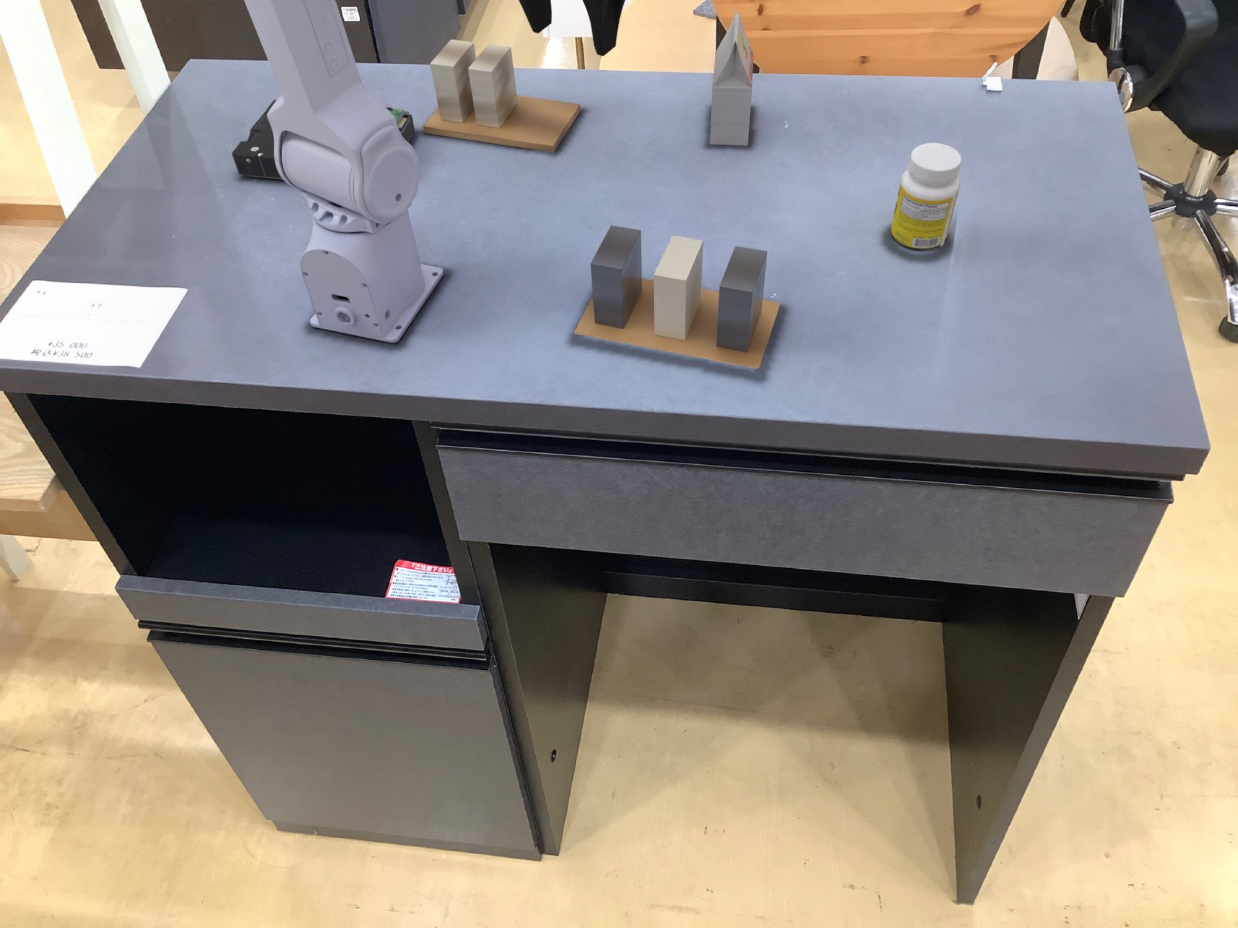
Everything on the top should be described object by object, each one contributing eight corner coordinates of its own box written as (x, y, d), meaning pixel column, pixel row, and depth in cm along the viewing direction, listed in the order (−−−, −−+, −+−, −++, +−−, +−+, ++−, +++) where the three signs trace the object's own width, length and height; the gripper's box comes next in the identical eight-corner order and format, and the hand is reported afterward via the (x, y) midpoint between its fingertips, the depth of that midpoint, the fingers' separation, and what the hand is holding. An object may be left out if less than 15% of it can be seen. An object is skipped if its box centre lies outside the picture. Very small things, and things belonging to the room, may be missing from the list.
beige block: (684, 340, 77) (686, 280, 73) (654, 335, 78) (653, 274, 73) (701, 300, 80) (703, 240, 76) (671, 295, 81) (672, 235, 76)
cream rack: (553, 153, 96) (547, 87, 91) (424, 133, 100) (411, 69, 94) (580, 111, 101) (576, 47, 96) (456, 93, 104) (445, 30, 99)
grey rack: (758, 376, 75) (765, 308, 70) (574, 340, 79) (567, 272, 74) (779, 310, 80) (787, 241, 75) (605, 278, 84) (601, 211, 78)
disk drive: (239, 180, 95) (384, 189, 93) (229, 155, 93) (377, 163, 91) (280, 123, 102) (417, 130, 100) (272, 98, 100) (411, 105, 98)
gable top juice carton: (709, 144, 96) (714, 45, 89) (713, 108, 101) (717, 10, 93) (747, 145, 96) (755, 46, 88) (749, 109, 100) (756, 11, 93)
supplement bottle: (909, 218, 88) (929, 133, 81) (955, 240, 85) (979, 154, 79) (877, 242, 86) (894, 157, 79) (923, 266, 83) (945, 180, 77)
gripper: (654, -121, 78) (663, 38, 89) (518, -155, 84) (541, -2, 95) (601, -82, 75) (616, 78, 86) (463, -121, 81) (493, 33, 92)
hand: (573, 39), depth 91 cm, fingers open, 7 cm apart
